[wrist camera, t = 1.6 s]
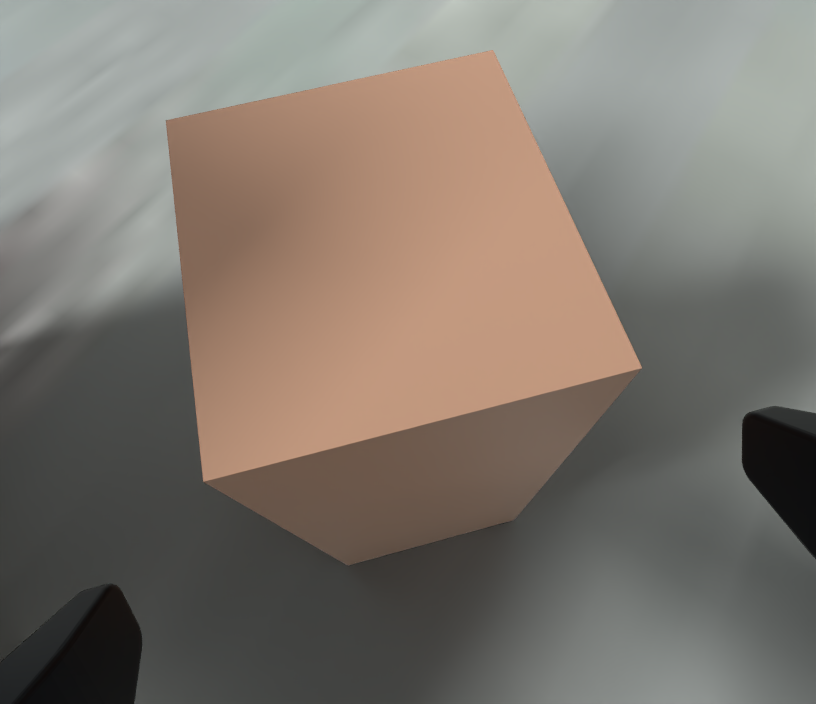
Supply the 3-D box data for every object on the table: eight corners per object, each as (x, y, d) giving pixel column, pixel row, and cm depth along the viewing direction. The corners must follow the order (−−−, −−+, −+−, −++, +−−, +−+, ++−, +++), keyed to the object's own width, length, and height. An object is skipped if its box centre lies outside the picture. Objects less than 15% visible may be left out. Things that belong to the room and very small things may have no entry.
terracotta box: (514, 520, 18) (641, 368, 7) (347, 565, 18) (202, 481, 7) (461, 356, 21) (493, 50, 10) (313, 393, 21) (165, 120, 9)
